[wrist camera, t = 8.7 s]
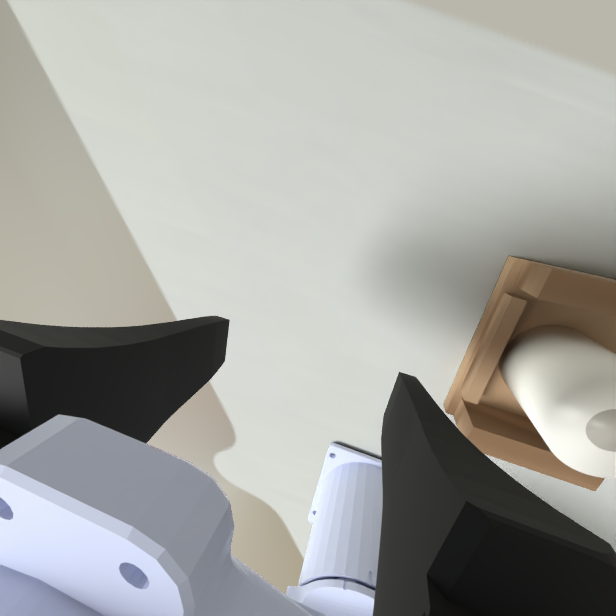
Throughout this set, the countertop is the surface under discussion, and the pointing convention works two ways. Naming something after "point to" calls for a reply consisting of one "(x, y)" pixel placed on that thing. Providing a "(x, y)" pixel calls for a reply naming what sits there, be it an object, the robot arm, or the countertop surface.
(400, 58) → the countertop surface
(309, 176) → the countertop surface
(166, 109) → the countertop surface
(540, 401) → the paper roll
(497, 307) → the holder
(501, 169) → the countertop surface
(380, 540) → the robot arm
